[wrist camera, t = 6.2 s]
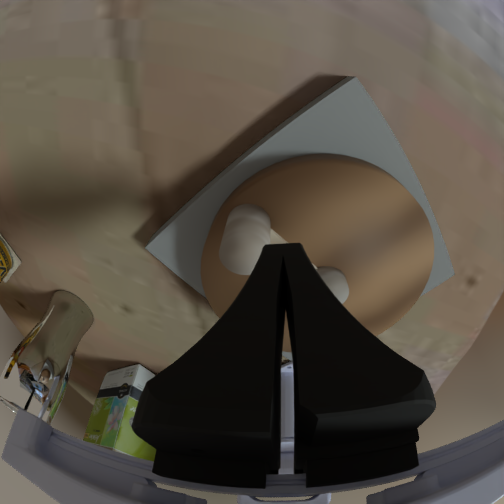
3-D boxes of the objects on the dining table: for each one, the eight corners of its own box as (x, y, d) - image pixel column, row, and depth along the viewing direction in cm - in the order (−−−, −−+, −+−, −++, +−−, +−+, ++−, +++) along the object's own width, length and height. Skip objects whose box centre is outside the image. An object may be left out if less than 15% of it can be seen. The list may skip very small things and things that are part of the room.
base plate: (290, 347, 29) (291, 361, 27) (152, 235, 21) (145, 247, 20) (447, 262, 21) (454, 274, 20) (348, 76, 14) (355, 76, 12)
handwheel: (450, 262, 19) (477, 305, 15) (307, 355, 26) (310, 400, 22) (329, 97, 13) (355, 108, 9) (164, 266, 21) (142, 315, 17)
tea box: (104, 371, 37) (76, 452, 25) (140, 360, 33) (109, 461, 21) (171, 412, 44) (157, 484, 32) (213, 406, 40) (201, 490, 28)
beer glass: (47, 305, 29) (-5, 399, 16) (55, 276, 25) (-13, 387, 13) (89, 335, 31) (47, 434, 19) (104, 312, 28) (51, 431, 16)
